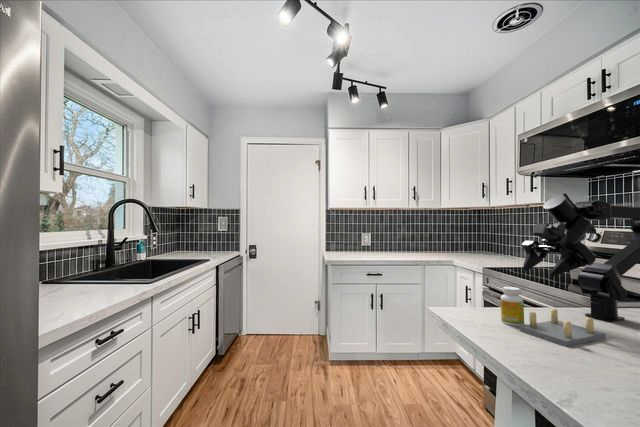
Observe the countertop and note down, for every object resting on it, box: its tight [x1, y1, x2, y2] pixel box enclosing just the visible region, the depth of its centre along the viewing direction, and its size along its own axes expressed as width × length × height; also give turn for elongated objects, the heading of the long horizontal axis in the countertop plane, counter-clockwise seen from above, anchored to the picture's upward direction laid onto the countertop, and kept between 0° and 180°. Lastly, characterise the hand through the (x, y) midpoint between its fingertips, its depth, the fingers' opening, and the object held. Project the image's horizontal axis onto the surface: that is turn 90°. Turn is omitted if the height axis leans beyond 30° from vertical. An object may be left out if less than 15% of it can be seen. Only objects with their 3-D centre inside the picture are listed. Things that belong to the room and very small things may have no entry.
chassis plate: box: [518, 308, 607, 348], centre depth 75 cm, size 14×11×5 cm
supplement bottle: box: [500, 286, 525, 327], centre depth 84 cm, size 5×5×10 cm
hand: (537, 272), depth 85 cm, fingers open, 9 cm apart
